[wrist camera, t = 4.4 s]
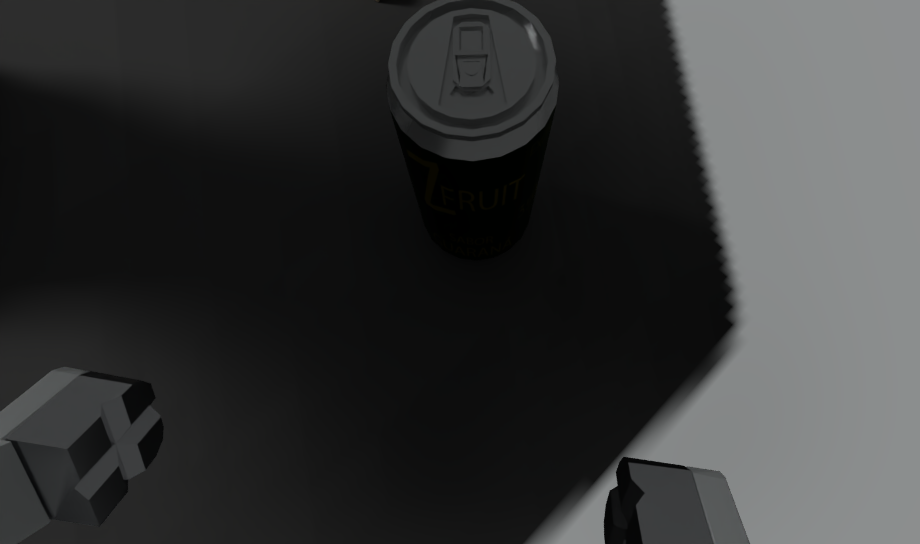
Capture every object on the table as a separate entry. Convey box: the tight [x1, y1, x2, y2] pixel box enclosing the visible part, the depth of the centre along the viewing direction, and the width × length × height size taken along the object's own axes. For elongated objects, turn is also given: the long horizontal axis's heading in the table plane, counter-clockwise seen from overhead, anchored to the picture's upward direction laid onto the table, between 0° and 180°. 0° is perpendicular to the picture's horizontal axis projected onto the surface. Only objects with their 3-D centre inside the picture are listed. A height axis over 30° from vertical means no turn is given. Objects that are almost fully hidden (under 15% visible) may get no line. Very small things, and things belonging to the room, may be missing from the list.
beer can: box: [386, 0, 559, 260], centre depth 21 cm, size 5×5×12 cm
